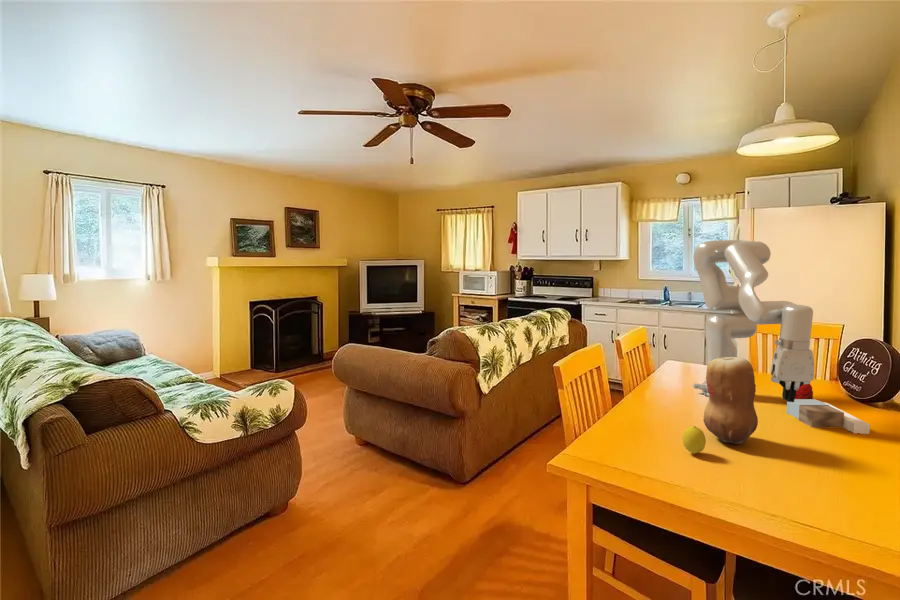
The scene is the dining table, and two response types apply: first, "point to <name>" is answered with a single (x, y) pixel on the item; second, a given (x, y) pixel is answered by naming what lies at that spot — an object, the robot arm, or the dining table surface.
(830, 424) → the walnut block
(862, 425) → the stop rail
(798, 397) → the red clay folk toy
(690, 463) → the dining table surface
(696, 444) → the lemon
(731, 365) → the butternut squash
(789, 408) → the slate block
